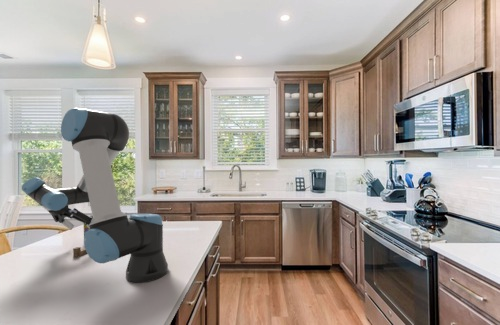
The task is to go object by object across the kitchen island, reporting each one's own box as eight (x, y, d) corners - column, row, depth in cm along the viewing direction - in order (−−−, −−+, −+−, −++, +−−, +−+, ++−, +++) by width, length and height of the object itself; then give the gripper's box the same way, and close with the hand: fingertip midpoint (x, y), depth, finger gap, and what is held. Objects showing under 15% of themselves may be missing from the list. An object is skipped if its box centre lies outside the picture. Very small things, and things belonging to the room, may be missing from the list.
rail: (77, 257, 117) (76, 248, 117) (73, 257, 117) (73, 248, 117) (129, 234, 153) (129, 227, 153) (126, 233, 154) (126, 227, 154)
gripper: (82, 197, 117) (107, 222, 132) (38, 197, 122) (67, 221, 137) (72, 211, 112) (100, 235, 127) (27, 210, 117) (58, 233, 132)
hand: (83, 228), depth 132 cm, fingers open, 13 cm apart
